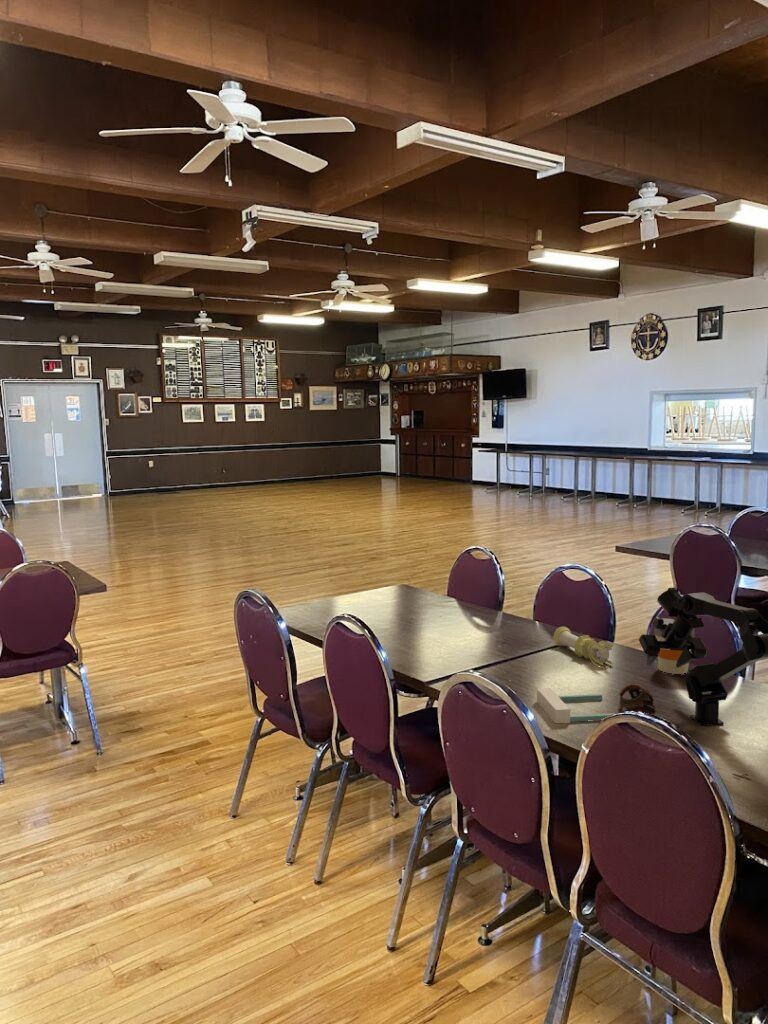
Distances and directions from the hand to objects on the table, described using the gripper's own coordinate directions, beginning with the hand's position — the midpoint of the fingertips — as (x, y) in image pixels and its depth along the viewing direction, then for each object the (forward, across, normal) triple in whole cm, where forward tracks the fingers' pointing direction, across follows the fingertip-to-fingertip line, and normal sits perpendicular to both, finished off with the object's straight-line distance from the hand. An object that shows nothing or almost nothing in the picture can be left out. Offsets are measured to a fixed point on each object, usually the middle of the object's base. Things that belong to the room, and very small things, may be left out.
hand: (662, 665), depth 219 cm
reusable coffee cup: (+19, -17, -16) cm, 30 cm away
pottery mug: (+7, +10, +11) cm, 16 cm away
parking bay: (+8, +27, +11) cm, 30 cm away
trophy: (+31, +6, -32) cm, 45 cm away
